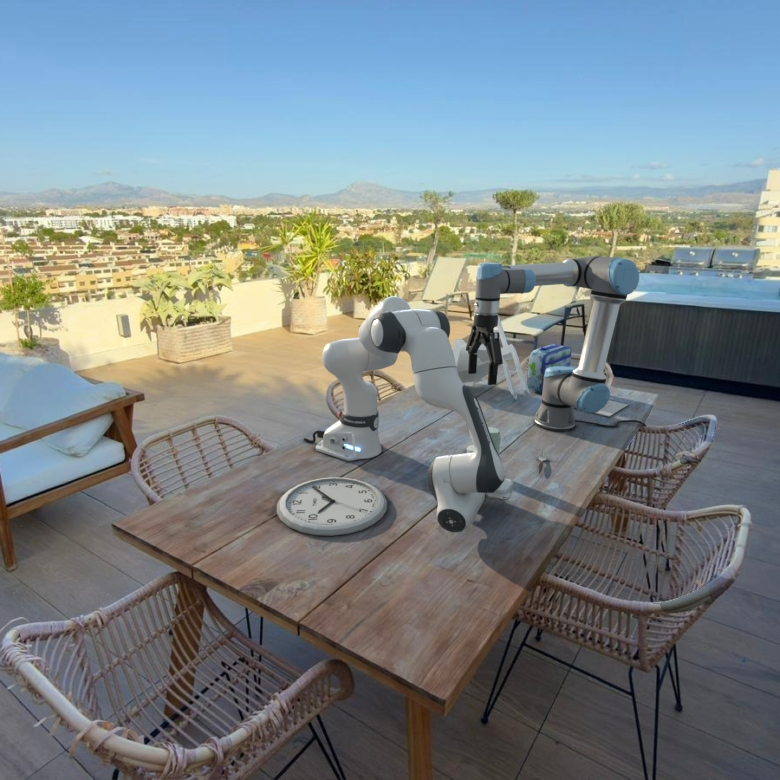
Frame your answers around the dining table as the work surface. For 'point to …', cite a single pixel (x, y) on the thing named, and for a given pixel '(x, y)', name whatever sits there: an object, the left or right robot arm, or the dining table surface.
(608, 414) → the invitation card
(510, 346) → the white plastic object
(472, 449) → the lid
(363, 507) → the wall clock
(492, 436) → the jar
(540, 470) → the fork
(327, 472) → the dining table surface
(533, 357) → the lunch box
